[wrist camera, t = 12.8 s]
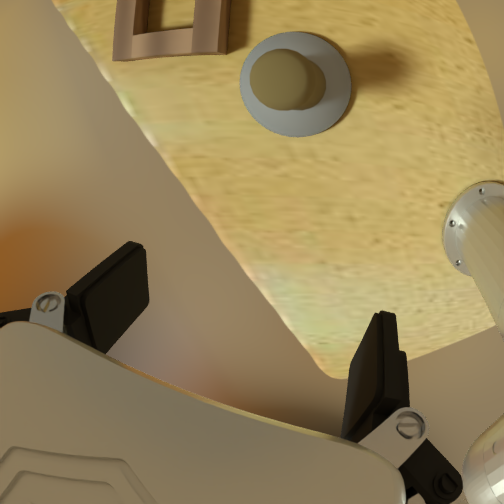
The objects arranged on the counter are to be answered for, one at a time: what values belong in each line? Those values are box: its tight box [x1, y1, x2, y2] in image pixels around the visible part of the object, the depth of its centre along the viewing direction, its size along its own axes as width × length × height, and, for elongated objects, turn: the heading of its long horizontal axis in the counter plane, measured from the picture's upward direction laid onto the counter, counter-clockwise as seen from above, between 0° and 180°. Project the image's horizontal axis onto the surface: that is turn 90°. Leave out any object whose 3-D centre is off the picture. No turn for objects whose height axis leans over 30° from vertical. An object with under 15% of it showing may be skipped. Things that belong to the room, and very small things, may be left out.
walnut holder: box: [112, 0, 231, 61], centre depth 27 cm, size 14×14×3 cm
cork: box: [250, 49, 326, 111], centre depth 25 cm, size 6×6×11 cm
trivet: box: [240, 32, 351, 137], centre depth 30 cm, size 12×12×1 cm
